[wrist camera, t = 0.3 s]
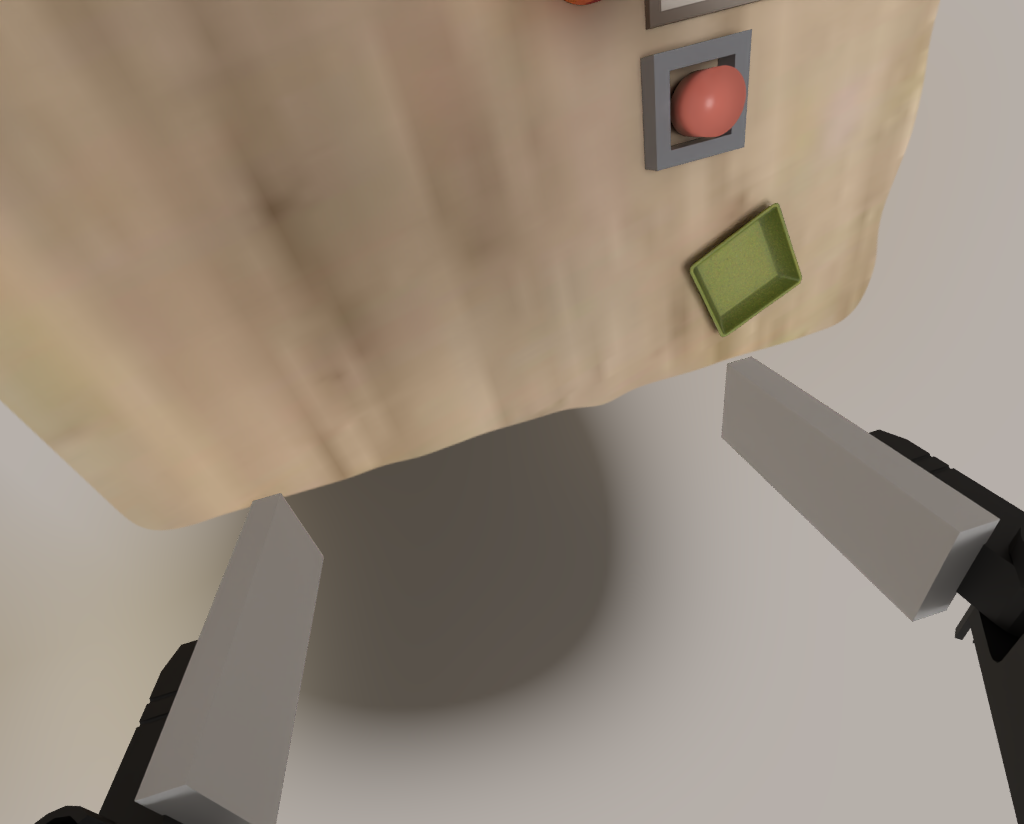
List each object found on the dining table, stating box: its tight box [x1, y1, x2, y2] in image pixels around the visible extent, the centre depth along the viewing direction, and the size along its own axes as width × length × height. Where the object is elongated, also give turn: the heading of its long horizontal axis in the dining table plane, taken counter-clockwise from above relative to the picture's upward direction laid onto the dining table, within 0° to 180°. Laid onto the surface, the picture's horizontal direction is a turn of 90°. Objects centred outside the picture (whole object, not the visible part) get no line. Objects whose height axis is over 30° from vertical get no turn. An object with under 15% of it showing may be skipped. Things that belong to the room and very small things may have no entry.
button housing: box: [641, 29, 752, 171], centre depth 33 cm, size 7×7×2 cm
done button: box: [670, 65, 746, 137], centre depth 32 cm, size 4×4×3 cm
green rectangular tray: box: [690, 203, 802, 337], centre depth 41 cm, size 9×9×2 cm
